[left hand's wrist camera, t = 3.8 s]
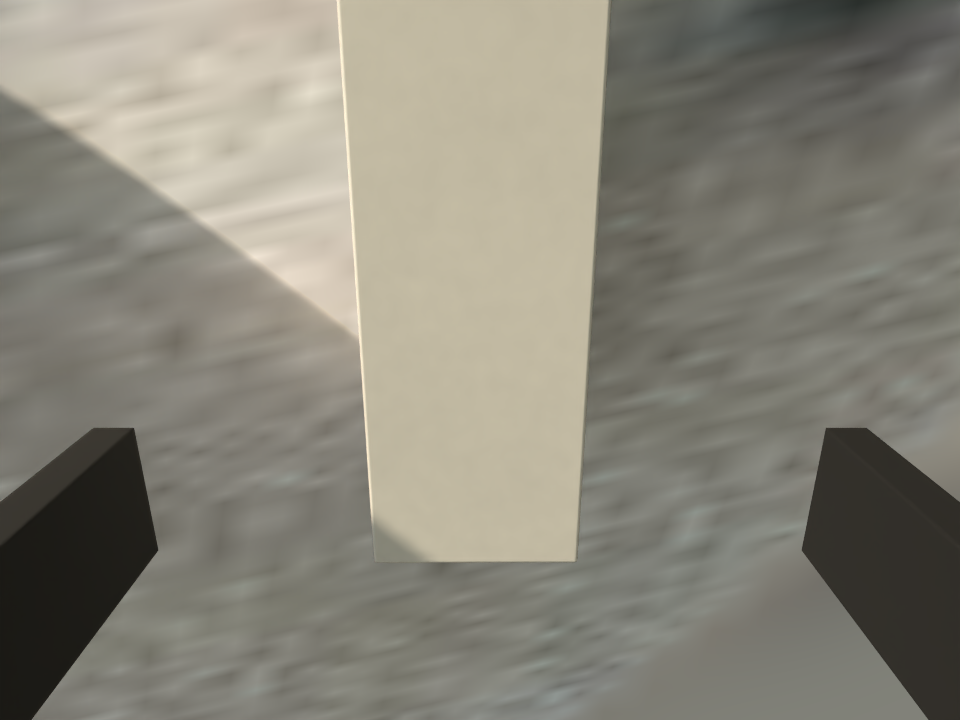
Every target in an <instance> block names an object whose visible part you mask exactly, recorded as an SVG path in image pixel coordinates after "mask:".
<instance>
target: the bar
mask: <svg viewBox="0 0 960 720" xmlns="http://www.w3.org/2000/svg"><path fill="white" fill-rule="evenodd" d="M611 1H612V0H337V11H338V26H339V41H340V56H341V71H342V86H343V101H344V116H345V131H346V147H347V162H348V177H349V192H350V207H351V222H352V237H353V252H354V267H355V282H356V297H357V312H358V327H359V342H360V357H361V373H362V388H363V403H364V418H365V433H366V448H367V463H368V478H369V493H370V508H371V523H372V538H373V553H374V561H375V562H377V563H471V562H576V561H577V558H578V542H579V526H580V509H581V493H582V476H583V460H584V444H585V427H586V411H587V395H588V378H589V362H590V345H591V329H592V313H593V296H594V280H595V263H596V247H597V231H598V214H599V198H600V182H601V165H602V149H603V132H604V116H605V100H606V83H607V67H608V50H609V34H610V18H611Z"/></svg>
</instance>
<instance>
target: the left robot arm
mask: <svg viewBox="0 0 960 720" xmlns="http://www.w3.org/2000/svg"><path fill="white" fill-rule="evenodd" d="M157 551H158V546H157V541H156V536H155V531H154V526H153V521H152V516H151V511H150V506H149V501H148V496H147V491H146V486H145V481H144V476H143V471H142V466H141V461H140V456H139V451H138V446H137V441H136V436H135V431H134V428H93V429H92V430H90V431H89V432H88V433H87V434H85V435H84V436H83V437H82V438H80V439H79V440H78V441H77V442H75V443H74V444H73V445H72V446H70V447H69V448H68V449H67V450H65V451H64V452H63V453H62V454H60V455H59V456H58V457H57V458H55V459H54V460H53V461H51V462H50V463H49V464H48V465H46V466H45V467H44V468H43V469H41V470H40V471H39V472H38V473H36V474H35V475H34V476H33V477H31V478H30V479H29V480H28V481H26V482H25V483H24V484H23V485H21V486H20V487H19V488H18V489H16V490H15V491H14V492H13V493H11V494H10V495H9V496H8V497H6V498H5V499H4V500H3V501H1V502H0V720H32V718H33V717H34V716H35V714H36V713H37V712H38V710H39V709H40V708H41V706H42V705H43V704H44V702H45V701H46V700H47V698H48V697H49V696H50V694H51V693H52V692H53V690H54V689H55V688H56V686H57V685H58V684H59V682H60V681H61V680H62V678H63V677H64V676H65V674H66V673H67V672H68V670H69V669H70V668H71V666H72V665H73V664H74V662H75V661H76V660H77V658H78V657H79V656H80V654H81V653H82V651H83V650H84V649H85V647H86V646H87V645H88V643H89V642H90V641H91V639H92V638H93V637H94V635H95V634H96V633H97V631H98V630H99V629H100V627H101V626H102V625H103V623H104V622H105V621H106V619H107V618H108V617H109V615H110V614H111V613H112V611H113V610H114V609H115V607H116V606H117V605H118V603H119V602H120V601H121V599H122V598H123V597H124V595H125V594H126V593H127V591H128V590H129V589H130V587H131V586H132V585H133V583H134V582H135V581H136V579H137V578H138V577H139V575H140V574H141V573H142V571H143V570H144V569H145V567H146V566H147V565H148V563H149V562H150V561H151V559H152V558H153V557H154V555H155V554H156V553H157ZM802 551H803V553H804V554H805V555H806V557H807V558H808V559H809V561H810V562H811V563H812V565H813V566H814V567H815V569H816V570H817V571H818V573H819V574H820V575H821V577H822V578H823V579H824V581H825V582H826V583H827V585H828V586H829V587H830V589H831V590H832V591H833V593H834V594H835V595H836V597H837V598H838V599H839V601H840V602H841V603H842V605H843V606H844V607H845V609H846V610H847V611H848V613H849V614H850V615H851V617H852V618H853V619H854V621H855V622H856V623H857V625H858V626H859V627H860V629H861V630H862V631H863V633H864V634H865V635H866V637H867V638H868V639H869V641H870V642H871V643H872V645H873V646H874V647H875V649H876V650H877V651H878V653H879V654H880V655H881V657H882V658H883V660H884V661H885V662H886V663H887V665H888V666H889V668H890V669H891V670H892V672H893V673H894V674H895V676H896V677H897V678H898V680H899V681H900V682H901V683H902V685H903V686H904V688H905V689H906V690H907V692H908V693H909V694H910V696H911V697H912V698H913V700H914V701H915V702H916V704H917V705H918V706H919V708H920V709H921V710H922V712H923V713H924V714H925V716H926V717H927V718H928V720H960V502H959V501H957V500H956V499H955V498H954V497H952V496H951V495H950V494H949V493H947V492H946V491H945V490H944V489H942V488H941V487H940V486H939V485H937V484H936V483H935V482H934V481H932V480H931V479H930V478H929V477H927V476H926V475H925V474H924V473H922V472H921V471H920V470H919V469H917V468H916V467H915V466H914V465H912V464H911V463H910V462H909V461H907V460H906V459H905V458H903V457H902V456H901V455H900V454H898V453H897V452H896V451H895V450H893V449H892V448H891V447H890V446H888V445H887V444H886V443H885V442H883V441H882V440H881V439H880V438H878V437H877V436H876V435H875V434H873V433H872V432H871V431H870V430H868V429H867V428H826V431H825V436H824V441H823V446H822V451H821V456H820V461H819V466H818V471H817V476H816V481H815V486H814V491H813V496H812V501H811V506H810V511H809V516H808V521H807V526H806V531H805V536H804V541H803V546H802Z"/></svg>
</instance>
